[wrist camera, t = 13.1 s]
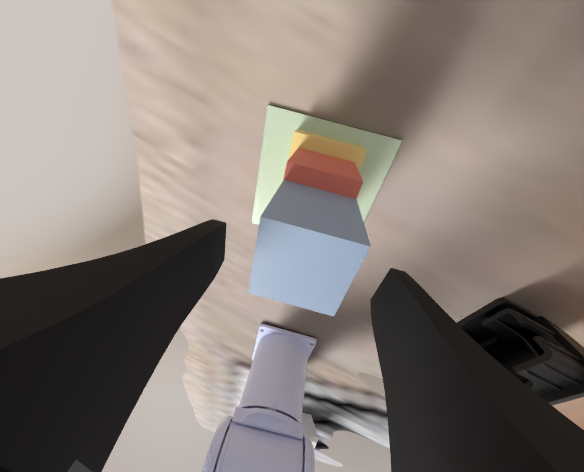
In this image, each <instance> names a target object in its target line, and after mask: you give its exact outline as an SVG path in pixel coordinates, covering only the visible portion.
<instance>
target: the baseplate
mask: <svg viewBox="0 0 584 472" xmlns="http://www.w3.org/2000/svg"><path fill="white" fill-rule="evenodd" d="M297 129H300V130H304V131H308V132H311V133H315V134H319V135H323V136H326V137H330V138H334V139H337V140H341V141H345V142H349V143H352V144H356V145H360V146H363V147H364V148H365V149H366V151H367V152H366V154H365V157H364V159H363V162H362V164H361V167H360V170H359V173H360V175H361V177H362V180H363V184H362V187H361V189H360V191H359V194H358V196H357V202H358V205H359V209H360V212H361V216H362V219H363V222H364V221H365V219H366V217H367V215H368V213H369V210H370V208H371V206H372V204H373V202H374V200H375V198H376V196H377V193H378V191H379V189H380V187H381V185H382V183H383V181H384V178H385V176H386V174H387V172H388V170H389V168H390V166H391V164H392V161H393V159H394V157H395V155H396V153H397V151H398V149H399V147H400V144H401V142H402V140H398V139H395V138H391V137H387V136H383V135H379V134H376V133H372V132H368V131H364V130H361V129H357V128H353V127H349V126H346V125H342V124H338V123H334V122H331V121H327V120H323V119H319V118H316V117H312V116H308V115H304V114H300V113H297V112H293V111H289V110H285V109H282V108H278V107H274V106H270V105H268V106H267V113H266V121H265V128H264V136H263V143H262V150H261V158H260V165H259V173H258V180H257V188H256V195H255V203H254V210H253V217H252V223H254V224H258V225H259V222H260V216H261V215H262V213H263V212H264V210H265V208H266V207H267V205H268V204H269V202H270V201H271V199H272V197H273V196H274V194H275V193H276V191H277V190H278V188H279V186H280V185H281V183H282V182H283V179H284V174H285V169H286V164H287V161H288V158H289V154H290V149H291V144H292V139H293V134H294V131H295V130H297Z"/></svg>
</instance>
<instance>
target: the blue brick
mask: <svg viewBox="0 0 584 472" xmlns="http://www.w3.org/2000/svg"><path fill="white" fill-rule="evenodd" d="M370 247H371V246H370V242H369V239H368V236H367V232H366V229H365V226H364V222H363V219H362V216H361V212H360V209H359V205H358V202H357V199H354V198H350V197H346V196H343V195H339V194H335V193H332V192H328V191H324V190H321V189H317V188H313V187H309V186H306V185H302V184H298V183H295V182H291V181H287V180H283V182H282V183H281V185H280V186H279V188H278V190H277V191H276V193H275V194H274V196H273V197H272V199H271V201H270V202H269V204H268V205H267V207H266V208H265V210H264V212H263V213H262V215H261V216H260V222H259V229H258V235H257V241H256V248H255V254H254V260H253V266H252V273H251V279H250V285H249V292H248V293H250V294H254V295H257V296H261V297H265V298H268V299H272V300H276V301H279V302H283V303H286V304H290V305H294V306H297V307H301V308H304V309H308V310H312V311H315V312H319V313H322V314H326V315H330V316H333V317H334V315H335V313H336V311H337V309H338V308H339V306H340V304H341V302H342V300H343V298H344V296H345V294H346V292H347V291H348V289H349V287H350V285H351V283H352V281H353V279H354V277H355V275H356V273H357V272H358V270H359V268H360V266H361V264H362V262H363V260H364V258H365V256H366V255H367V253H368V251H369V249H370Z"/></svg>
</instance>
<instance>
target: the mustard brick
mask: <svg viewBox="0 0 584 472" xmlns="http://www.w3.org/2000/svg"><path fill="white" fill-rule="evenodd" d="M297 148H302V149H306V150H310V151H313V152H317V153H321V154H325V155H329V156H333V157H336V158H340V159H344V160H348V161H352V162H355V164H356V167H357V169H358V171H359V170H360V167H361V164H362V162H363V159H364V157H365V154H366V152H367V151H366V149H365V148H364V147H363V146H360V145H356V144H352V143H349V142H345V141H341V140H337V139H334V138H330V137H326V136H323V135H319V134H315V133H311V132H308V131H304V130H300V129H297V130H295V131H294V134H293V139H292V144H291V149H290V154H289V158H290V157H291V156H292V155H293V153H294V152H295V151H296V150H297ZM289 158H288V160H289Z"/></svg>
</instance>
